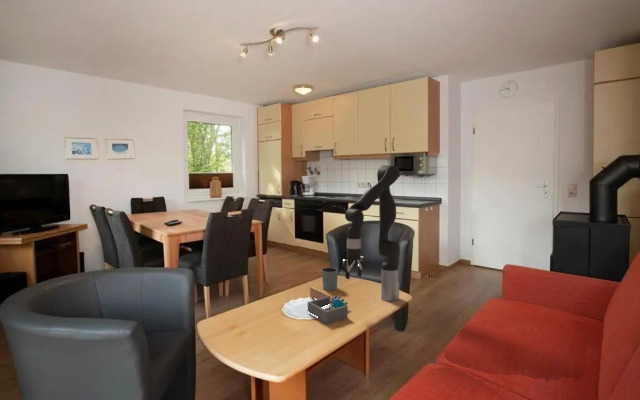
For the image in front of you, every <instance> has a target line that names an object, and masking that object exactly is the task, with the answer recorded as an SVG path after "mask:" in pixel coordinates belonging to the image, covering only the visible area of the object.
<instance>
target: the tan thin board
mask: <svg viewBox="0 0 640 400" xmlns="http://www.w3.org/2000/svg"><path fill="white" fill-rule="evenodd" d="M311 297H313V298H316V299H321V298H325V297H329V304H330V305H332V303H330V301H331V300H332V299H331V298H332V297H331V295H330V294H328V293H326V292H324V291H322V290H320V289H318V288H315V287H314V286H310V287H309V298H311ZM313 298H312V299H313Z"/></svg>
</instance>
